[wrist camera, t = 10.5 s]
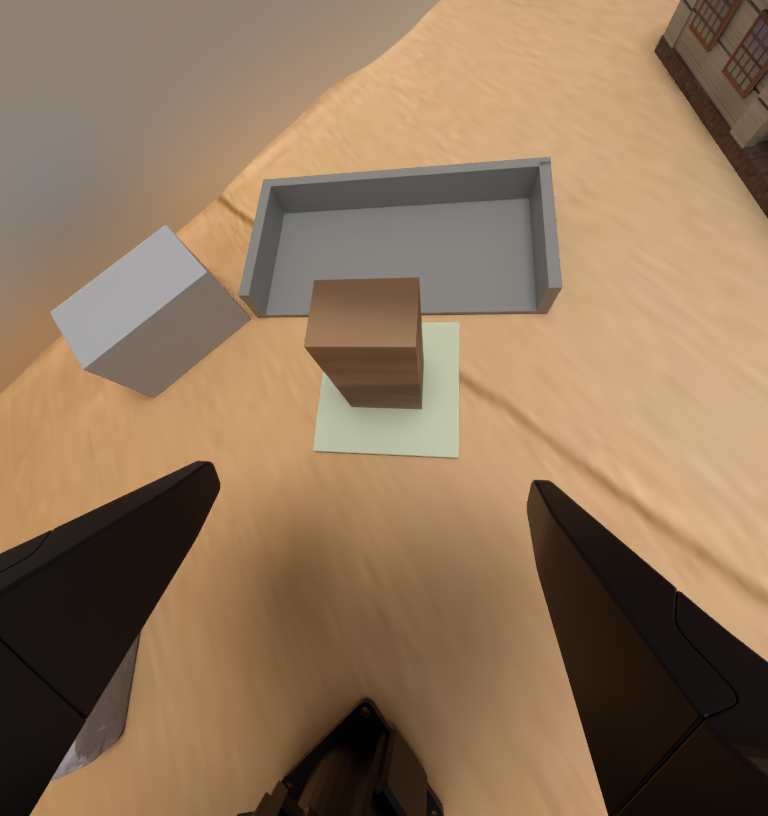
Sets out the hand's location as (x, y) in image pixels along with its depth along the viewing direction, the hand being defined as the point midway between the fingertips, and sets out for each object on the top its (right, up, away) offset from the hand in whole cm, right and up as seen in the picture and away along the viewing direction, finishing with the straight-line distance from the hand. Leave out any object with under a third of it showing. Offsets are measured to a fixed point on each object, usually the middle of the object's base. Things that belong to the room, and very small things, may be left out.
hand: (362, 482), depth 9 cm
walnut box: (+1, +4, +15) cm, 15 cm away
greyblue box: (-16, +8, +19) cm, 26 cm away
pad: (+1, +4, +15) cm, 16 cm away
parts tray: (+2, +14, +18) cm, 23 cm away
